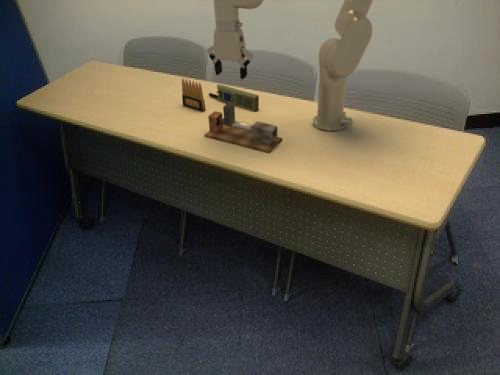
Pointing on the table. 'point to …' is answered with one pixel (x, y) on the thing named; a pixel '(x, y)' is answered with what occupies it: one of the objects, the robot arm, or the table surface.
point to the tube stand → (244, 134)
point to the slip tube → (232, 118)
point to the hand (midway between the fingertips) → (231, 75)
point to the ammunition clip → (192, 95)
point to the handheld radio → (237, 98)
